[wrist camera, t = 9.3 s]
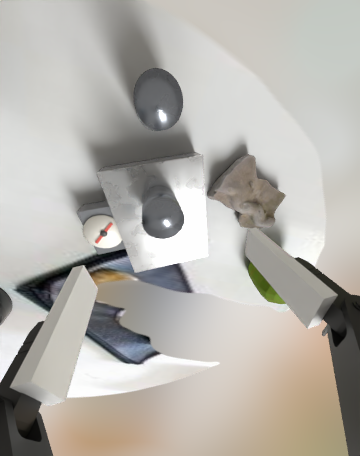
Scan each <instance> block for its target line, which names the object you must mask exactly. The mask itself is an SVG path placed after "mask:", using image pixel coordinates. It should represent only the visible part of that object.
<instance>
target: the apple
mask: <svg viewBox="0 0 360 456" xmlns="http://www.w3.org/2000/svg"><path fill="white" fill-rule="evenodd" d="M248 273H249V276H250V278H251V279H252V281H253V283H254V285H255V286H256V288H257V289H258V291H259V292H260V294H261V295H262V296H263V297H264V298H265V299H266V300H267V301H268V302H273V303H278V304H286V303H285V302H284V300H283V299H282V298H281V297H280V296H279V295H278V293H277V292H276V291H275V290H274V289H273V287H272V286H271V285H270V284H269V283H268V281H267V280H266V279H265V278H264V277H263V275H262V274H261V273H260V272H259V271H258V270H257V268H256V267H255V266H254V265H253V264H252V262H250V264H249V267H248Z"/></svg>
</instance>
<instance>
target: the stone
mask: <svg viewBox="0 0 360 456" xmlns="http://www.w3.org/2000/svg"><path fill="white" fill-rule="evenodd" d="M285 196H286V195H285V194H284V193H282V192H280V191H278V190H277V189H276V188H275V187H273V186H271V185H270V183H269V182H268V180H265V179H260V178H258V177H257V174H256V162H255V157H254V156H251V155H249V154H247V155H245V156H242V157H240V158H239V159H237V160H236V161H235V162H234V163H233V164H232V165H231V166H230V167H229V168H228V169H227V171H226V172H224V173H223V174H222V175H221V176H220V177H219V178H218V179H217V180H216V182H215V183H214V184H213V186H212V187H211V190H210V191H209V193H208V198H210V199H213V200H218V201H220V202H222V203H223V204H224V205H225V206H226V207H228V208H231V209H234V210H236V211H238V212H240V213H239V218H238V222H239V224H240V226H241V227H246V228H255V227H257V228H262V227H265V228H267V227H271V226H272V225H273V224H274V223H275V218H274V213H275V211H276V209H277V207H278V206H279V205H280V204H281V202H282V201H283V199H284V198H285Z"/></svg>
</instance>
